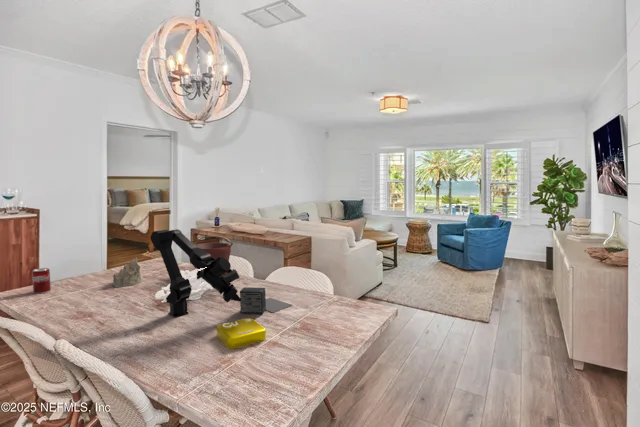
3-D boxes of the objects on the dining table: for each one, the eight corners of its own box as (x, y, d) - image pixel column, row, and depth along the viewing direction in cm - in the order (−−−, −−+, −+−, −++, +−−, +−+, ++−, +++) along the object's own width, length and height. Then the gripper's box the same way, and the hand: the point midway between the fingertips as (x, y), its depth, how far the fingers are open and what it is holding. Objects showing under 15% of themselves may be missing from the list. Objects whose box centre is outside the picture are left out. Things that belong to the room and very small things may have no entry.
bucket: (238, 271, 231) (238, 234, 228) (220, 281, 210) (219, 239, 207) (206, 268, 237) (205, 232, 235) (185, 277, 216) (184, 237, 214)
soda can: (35, 290, 188) (34, 268, 186) (52, 289, 191) (51, 267, 190) (31, 294, 181) (29, 272, 180) (48, 293, 184) (47, 270, 183)
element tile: (229, 351, 126) (229, 338, 125) (215, 335, 138) (215, 323, 137) (267, 340, 134) (267, 328, 134) (251, 326, 147) (250, 315, 146)
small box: (266, 308, 165) (266, 287, 164) (262, 314, 159) (262, 291, 157) (244, 308, 166) (243, 286, 165) (240, 313, 160) (239, 291, 158)
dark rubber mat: (272, 313, 161) (272, 312, 161) (249, 304, 171) (249, 304, 171) (292, 305, 171) (292, 304, 171) (269, 298, 181) (269, 297, 181)
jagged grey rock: (138, 276, 216) (135, 253, 213) (145, 284, 203) (143, 259, 201) (109, 283, 206) (106, 258, 203) (115, 291, 193) (112, 264, 191)
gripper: (232, 269, 144) (258, 292, 149) (223, 260, 160) (247, 281, 166) (212, 291, 141) (240, 313, 147) (206, 278, 158) (231, 299, 164)
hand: (240, 300), depth 156 cm, fingers closed
